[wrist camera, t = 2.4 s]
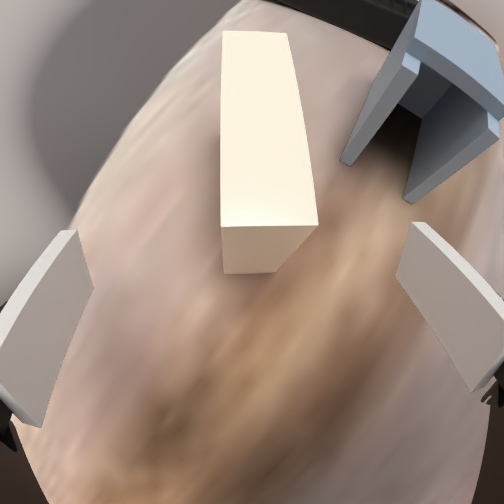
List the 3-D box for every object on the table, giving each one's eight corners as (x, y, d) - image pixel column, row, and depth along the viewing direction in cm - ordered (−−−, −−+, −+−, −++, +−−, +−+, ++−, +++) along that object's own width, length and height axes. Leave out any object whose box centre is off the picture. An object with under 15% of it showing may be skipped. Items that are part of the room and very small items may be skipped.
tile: (274, 272, 24) (318, 225, 12) (223, 274, 24) (220, 226, 12) (265, 133, 27) (286, 33, 15) (222, 133, 27) (222, 30, 15)
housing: (411, 204, 27) (512, 128, 13) (339, 160, 27) (411, 49, 13) (430, 117, 30) (494, 43, 16) (373, 81, 30) (423, -7, 16)
